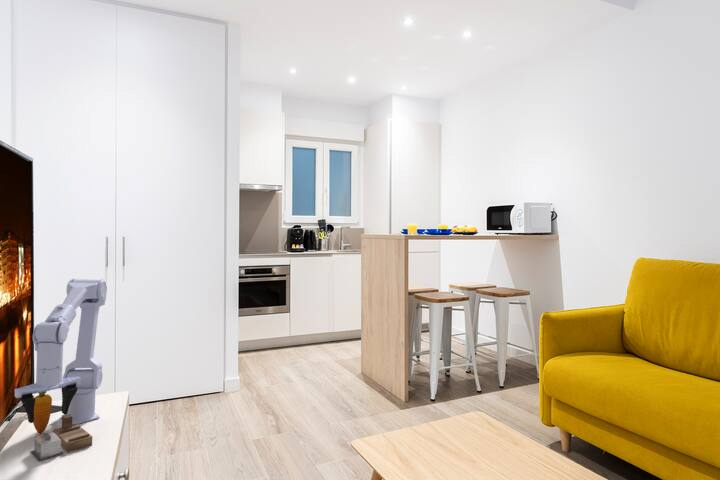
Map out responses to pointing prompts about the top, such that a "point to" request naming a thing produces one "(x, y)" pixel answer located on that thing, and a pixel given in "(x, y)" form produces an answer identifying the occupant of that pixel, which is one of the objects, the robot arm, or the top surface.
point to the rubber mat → (44, 458)
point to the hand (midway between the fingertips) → (48, 417)
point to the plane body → (72, 435)
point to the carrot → (42, 411)
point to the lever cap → (47, 445)
